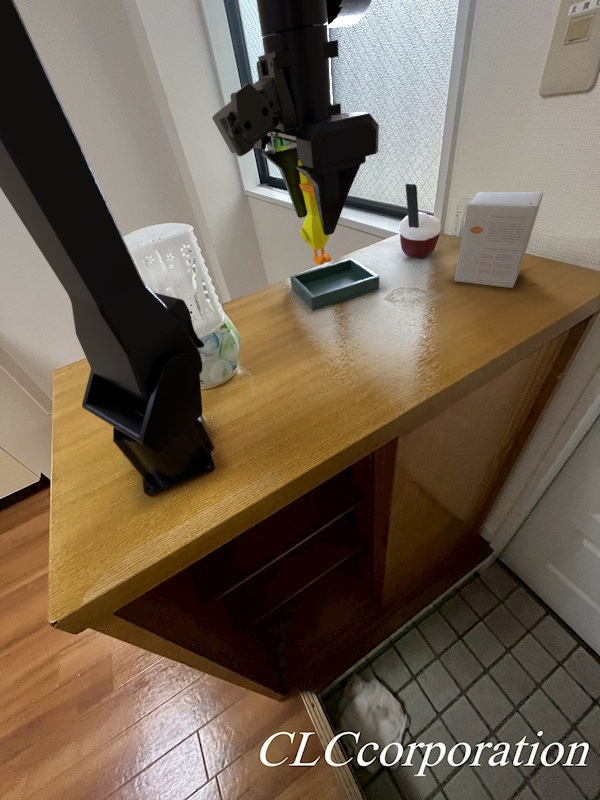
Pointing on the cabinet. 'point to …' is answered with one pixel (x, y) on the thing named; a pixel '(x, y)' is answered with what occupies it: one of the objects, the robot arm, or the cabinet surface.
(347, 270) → the tray
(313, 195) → the toy figure
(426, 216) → the red dessert cup
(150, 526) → the cabinet surface
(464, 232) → the small box
